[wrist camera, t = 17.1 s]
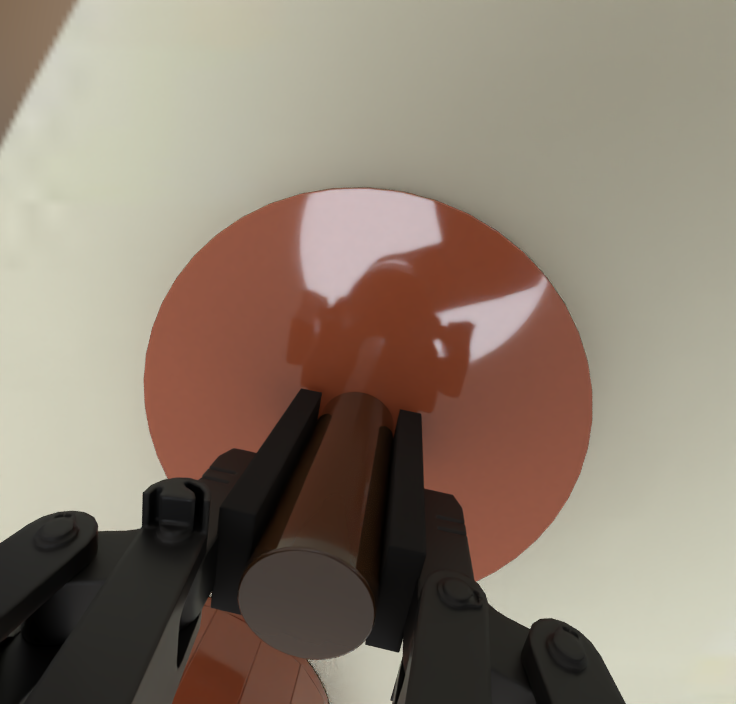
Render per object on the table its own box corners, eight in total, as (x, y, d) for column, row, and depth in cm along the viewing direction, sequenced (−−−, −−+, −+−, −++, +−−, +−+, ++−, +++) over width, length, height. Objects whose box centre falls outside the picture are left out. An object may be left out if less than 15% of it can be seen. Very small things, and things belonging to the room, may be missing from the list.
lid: (650, 240, 14) (1025, 265, 5) (509, 616, 19) (587, 939, 10) (168, 149, 15) (-174, 46, 6) (155, 534, 20) (-43, 772, 11)
